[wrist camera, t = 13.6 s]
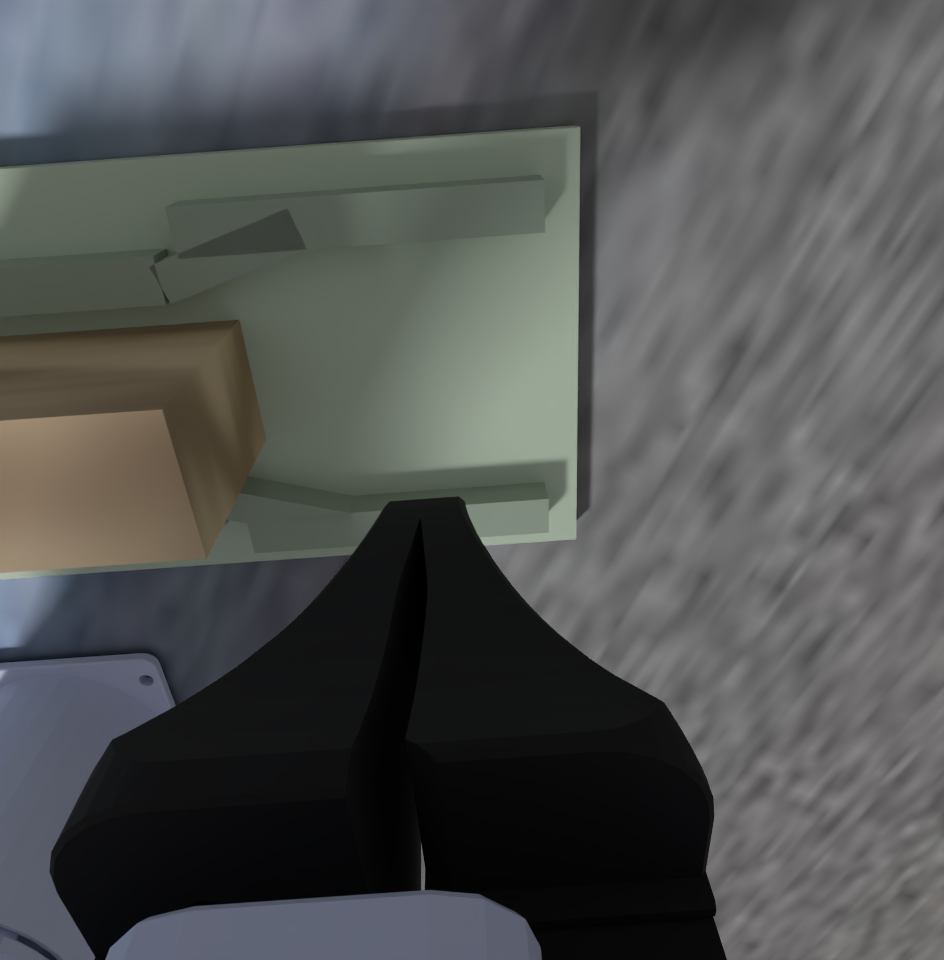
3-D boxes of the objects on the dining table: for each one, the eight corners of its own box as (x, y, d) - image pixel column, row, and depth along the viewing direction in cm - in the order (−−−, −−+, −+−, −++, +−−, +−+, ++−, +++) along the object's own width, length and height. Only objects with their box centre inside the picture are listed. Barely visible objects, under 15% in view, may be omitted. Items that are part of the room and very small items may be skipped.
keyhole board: (572, 525, 24) (581, 557, 22) (5, 565, 24) (-26, 599, 22) (575, 125, 18) (587, 129, 16) (-178, 179, 18) (-238, 189, 16)
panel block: (266, 439, 21) (206, 558, 16) (-5, 457, 21) (-154, 583, 16) (239, 319, 19) (162, 409, 14) (-56, 340, 19) (-244, 437, 14)
